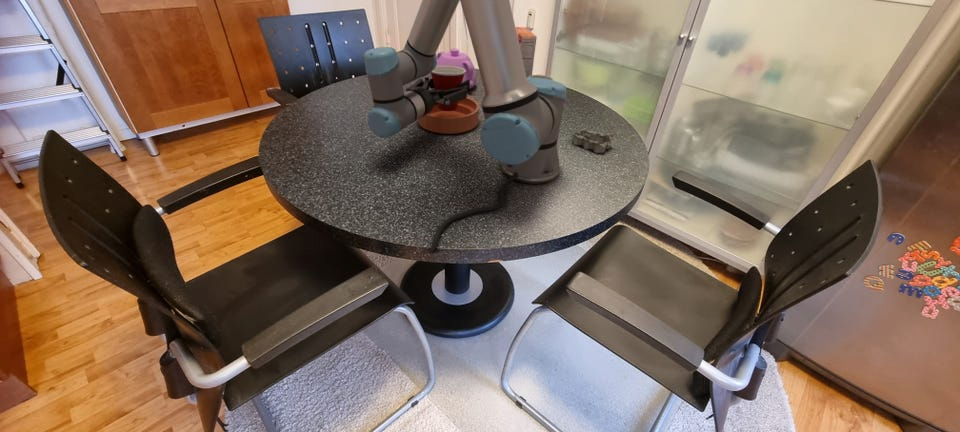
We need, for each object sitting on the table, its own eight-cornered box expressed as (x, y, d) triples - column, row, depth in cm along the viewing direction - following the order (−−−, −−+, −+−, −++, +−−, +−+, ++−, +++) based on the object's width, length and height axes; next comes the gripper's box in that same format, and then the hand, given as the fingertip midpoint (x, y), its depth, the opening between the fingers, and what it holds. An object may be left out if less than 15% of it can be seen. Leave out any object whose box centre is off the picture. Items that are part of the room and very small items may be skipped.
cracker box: (506, 82, 152) (511, 26, 139) (520, 82, 153) (526, 26, 140) (514, 95, 141) (521, 35, 128) (530, 94, 142) (537, 35, 129)
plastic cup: (467, 102, 120) (468, 64, 113) (462, 116, 112) (463, 75, 104) (434, 99, 121) (433, 61, 113) (427, 112, 112) (425, 72, 105)
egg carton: (612, 147, 110) (616, 135, 108) (599, 155, 106) (603, 142, 103) (581, 135, 116) (584, 123, 113) (568, 142, 111) (570, 130, 109)
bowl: (468, 139, 110) (468, 122, 106) (407, 129, 113) (406, 112, 110) (485, 115, 125) (485, 99, 121) (431, 106, 128) (430, 90, 125)
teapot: (410, 85, 144) (407, 47, 136) (454, 75, 156) (454, 40, 147) (445, 102, 132) (444, 62, 123) (489, 90, 144) (491, 52, 135)
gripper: (383, 109, 105) (426, 86, 121) (449, 127, 98) (485, 100, 114) (380, 82, 100) (425, 62, 116) (449, 99, 93) (487, 75, 109)
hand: (455, 81), depth 115 cm, fingers closed on plastic cup, 9 cm apart
